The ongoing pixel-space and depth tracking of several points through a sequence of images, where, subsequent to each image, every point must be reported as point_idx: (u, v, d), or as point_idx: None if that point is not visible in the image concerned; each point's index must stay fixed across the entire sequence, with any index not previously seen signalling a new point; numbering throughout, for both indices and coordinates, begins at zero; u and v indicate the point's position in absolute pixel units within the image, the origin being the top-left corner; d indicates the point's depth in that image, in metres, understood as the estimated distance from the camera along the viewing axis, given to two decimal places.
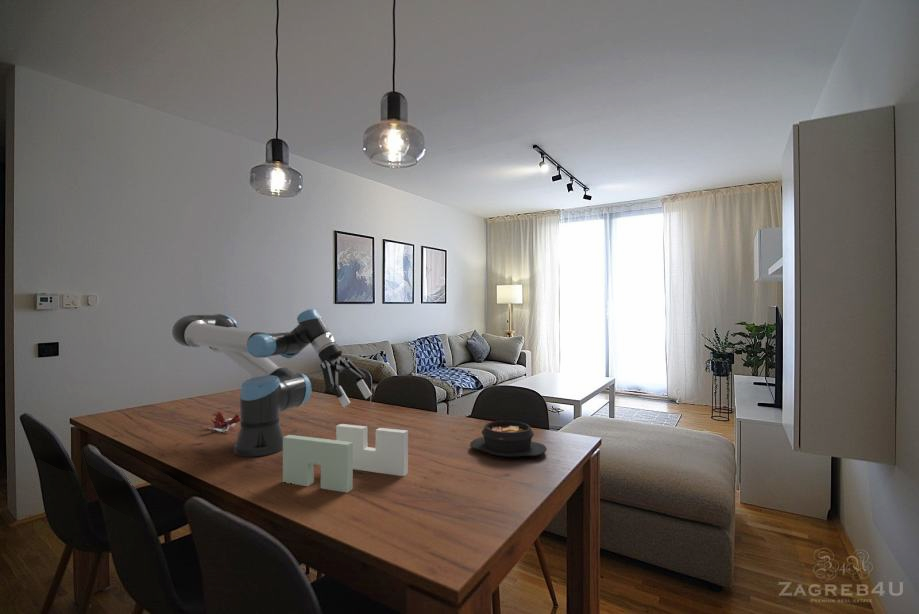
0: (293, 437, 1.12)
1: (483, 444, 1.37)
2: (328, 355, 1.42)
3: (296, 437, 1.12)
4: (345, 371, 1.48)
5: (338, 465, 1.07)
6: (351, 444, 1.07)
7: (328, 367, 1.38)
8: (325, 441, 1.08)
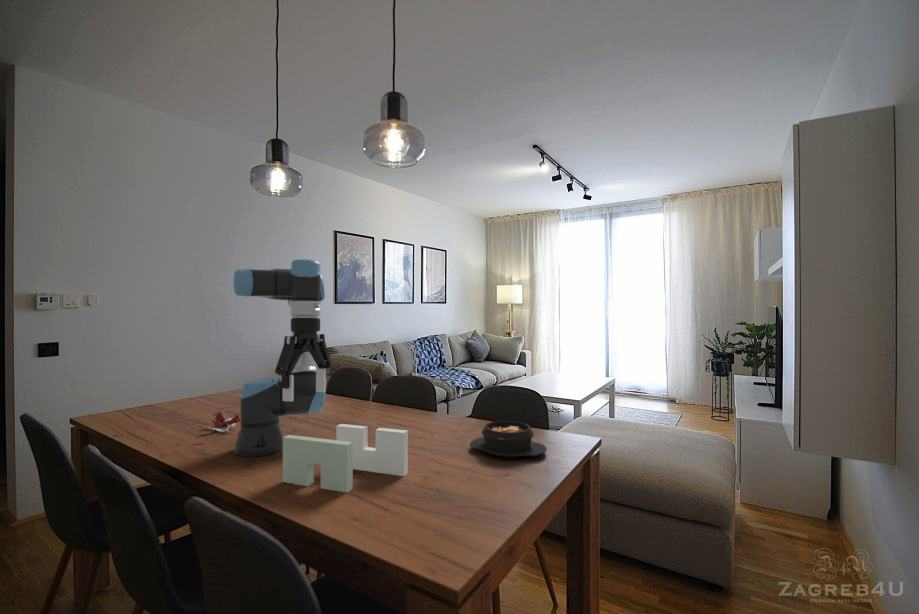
0: (293, 437, 1.12)
1: (483, 444, 1.37)
2: (301, 329, 1.09)
3: (296, 437, 1.12)
4: (311, 351, 1.16)
5: (338, 465, 1.07)
6: (350, 444, 1.07)
7: (292, 346, 1.06)
8: (325, 441, 1.08)
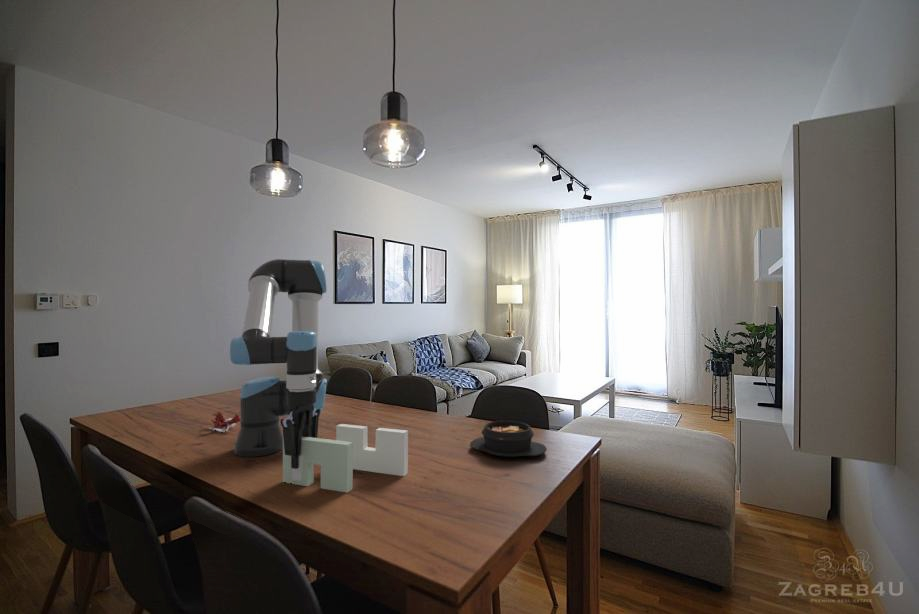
0: None
1: (483, 444, 1.37)
2: (296, 404, 1.08)
3: None
4: None
5: (338, 465, 1.07)
6: (350, 444, 1.07)
7: (291, 429, 1.06)
8: (325, 441, 1.08)
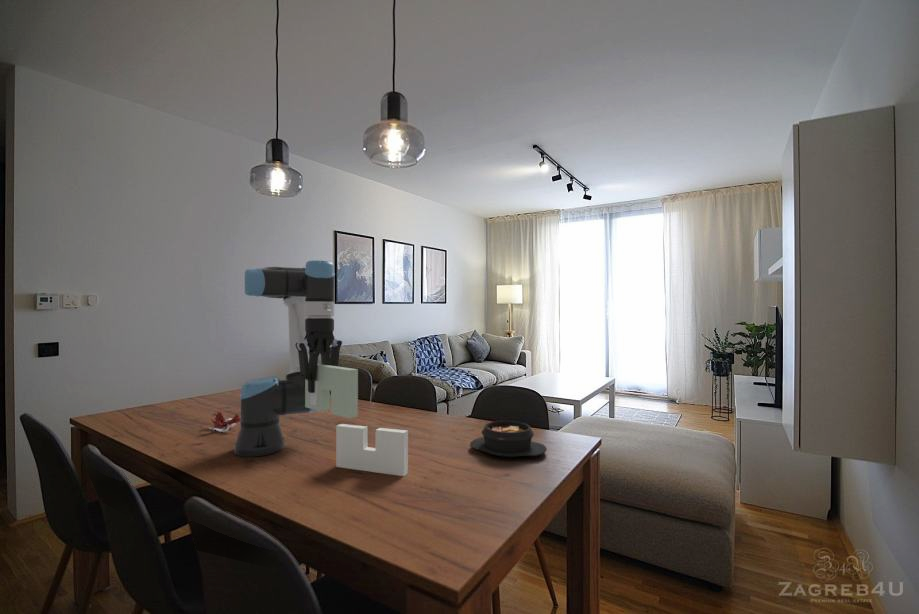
0: None
1: (483, 444, 1.37)
2: (310, 329, 1.11)
3: None
4: (322, 354, 1.16)
5: (343, 391, 1.06)
6: (355, 370, 1.06)
7: (304, 353, 1.10)
8: (334, 367, 1.09)
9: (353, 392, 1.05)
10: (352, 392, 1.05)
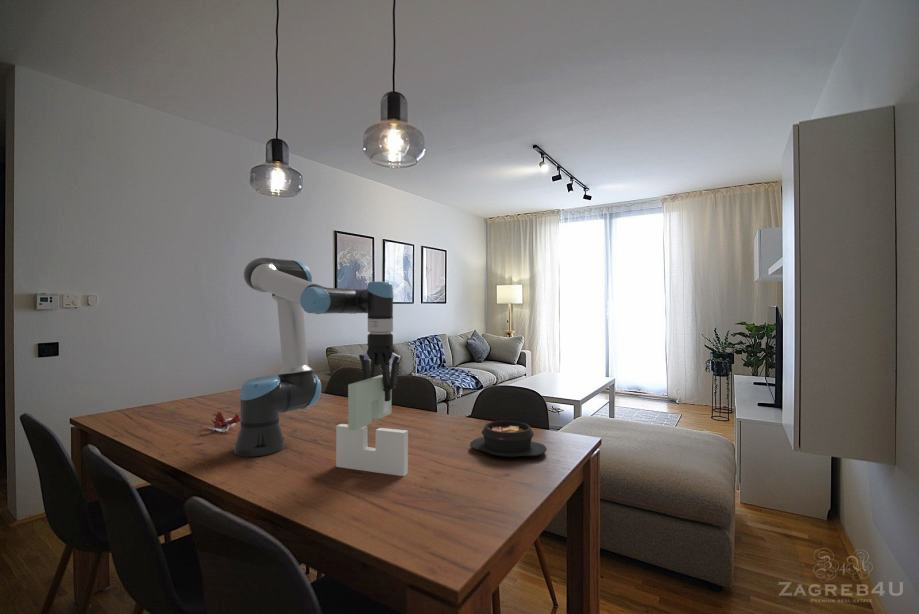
0: None
1: (483, 444, 1.37)
2: None
3: None
4: None
5: None
6: (353, 386, 1.11)
7: (362, 363, 1.26)
8: (362, 380, 1.18)
9: (351, 406, 1.12)
10: (350, 406, 1.12)
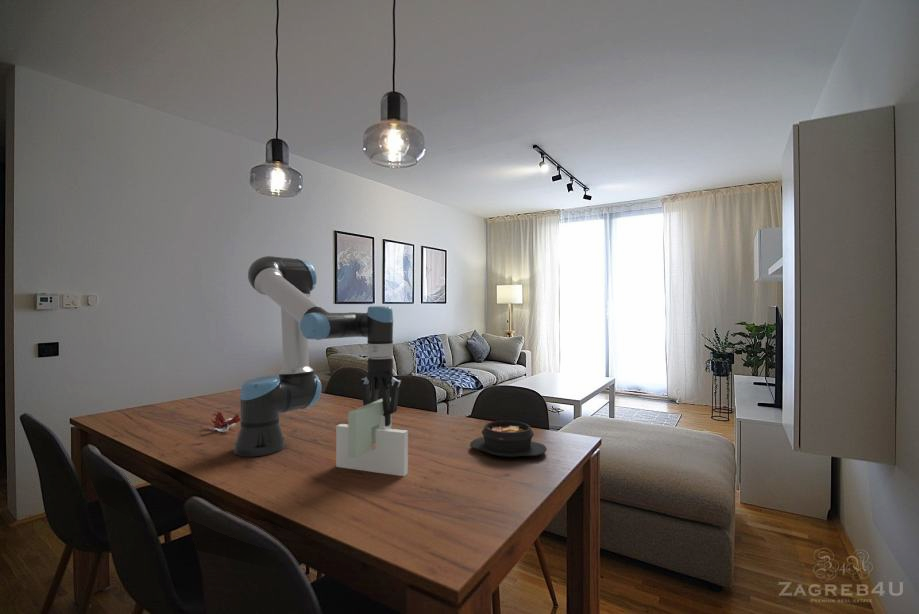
0: None
1: (483, 444, 1.37)
2: None
3: None
4: None
5: None
6: (353, 413, 1.11)
7: (362, 388, 1.26)
8: (362, 406, 1.18)
9: (351, 433, 1.11)
10: (350, 433, 1.12)
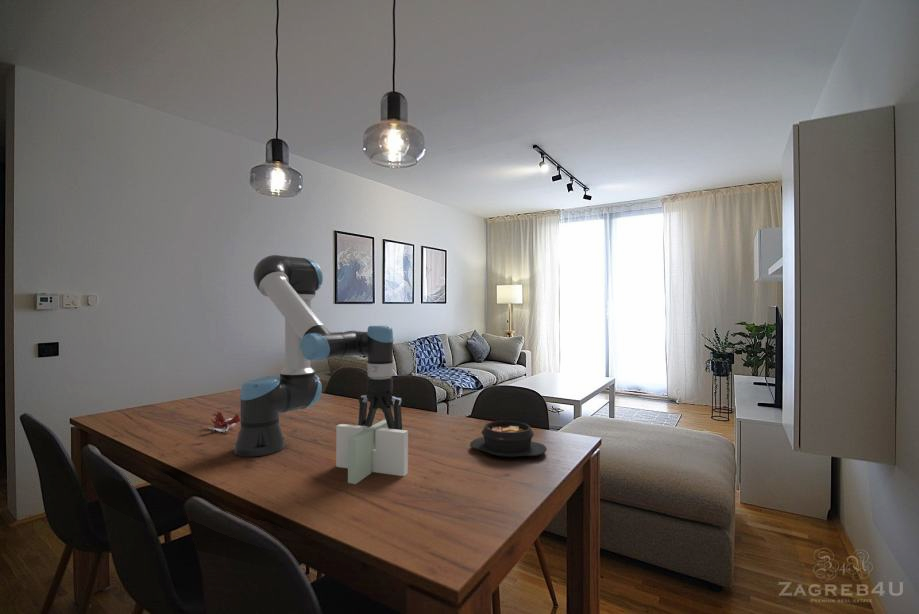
0: (382, 421, 1.28)
1: (483, 444, 1.37)
2: None
3: (381, 422, 1.27)
4: None
5: None
6: (353, 439, 1.11)
7: (360, 405, 1.27)
8: (362, 431, 1.18)
9: (351, 459, 1.11)
10: (350, 459, 1.12)
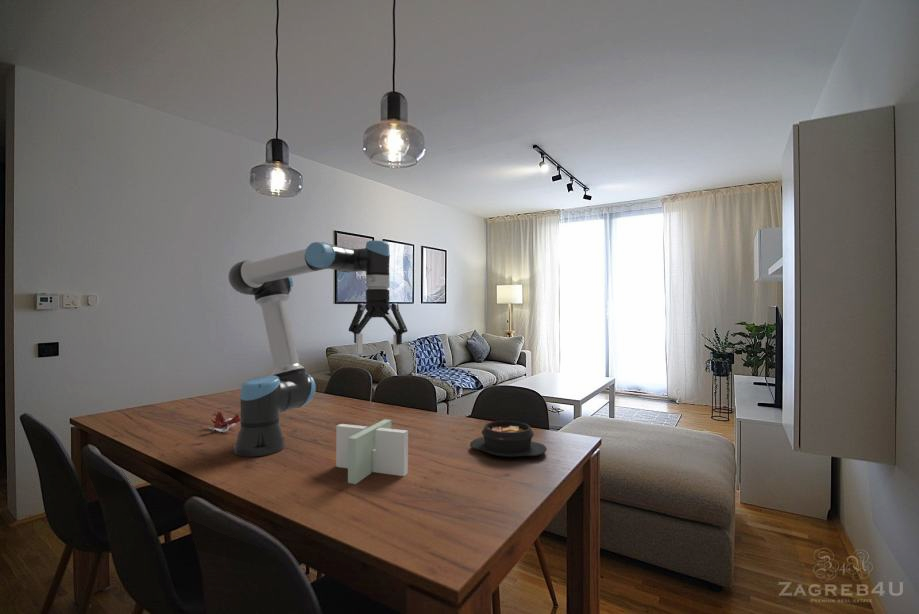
0: (382, 421, 1.28)
1: (483, 444, 1.37)
2: None
3: (381, 422, 1.27)
4: None
5: None
6: (353, 439, 1.11)
7: (357, 311, 1.37)
8: (362, 431, 1.18)
9: (351, 459, 1.11)
10: (350, 459, 1.12)
